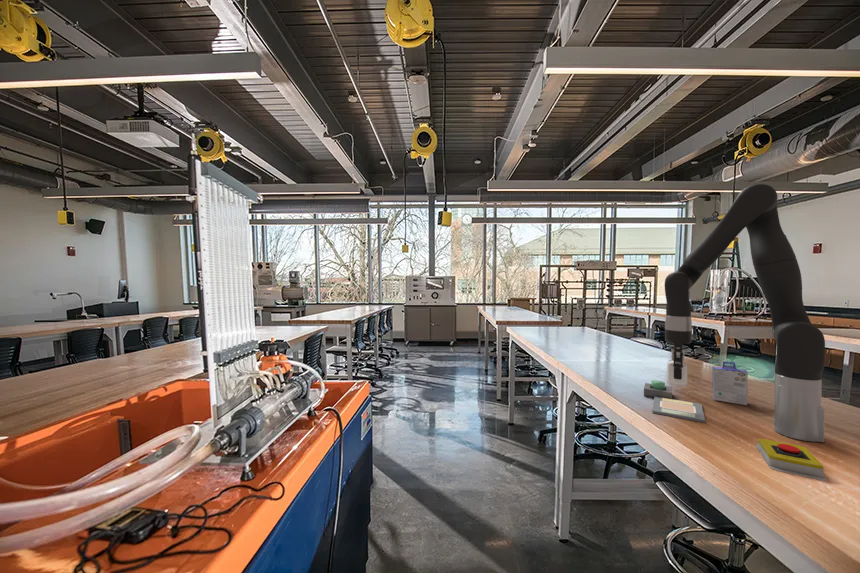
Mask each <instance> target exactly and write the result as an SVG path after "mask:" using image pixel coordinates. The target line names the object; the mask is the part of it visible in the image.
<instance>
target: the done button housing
mask: <svg viewBox="0 0 860 573" xmlns="http://www.w3.org/2000/svg"><path fill="white" fill-rule="evenodd" d="M654 396H656V397H663V398H669V399H673V387H672V386H670V385H669V386H668V385H665V390H659V389H652V388H651V383H648V382H645V383H644V386H643V397H647V398H648V397H649V398H653V399H654Z"/></svg>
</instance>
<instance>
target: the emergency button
mask: <svg viewBox="0 0 860 573" xmlns="http://www.w3.org/2000/svg"><path fill="white" fill-rule="evenodd" d="M754 447H755V448H756V447H757V448H756V449H757V451H758V452H759V454H760V453H761V454H760V455H761V457H762V458H763V460H764V462H765V463H766V465H767V466H768V467H769V468H770V469H772V471H776V472H782V473H786V474H790V475H796V476H800V477H802V478H803V477H804V478H809V479H813V480H817V481H823V482H826V481H827V478H826V477H825V475H824V464H822V463H821V461H819V459H817V458H816V456H815V455H814V454H813V453H812V452H811V451H810V450H809V449H808V448H807V447H806V446H803V445H799V444H794V443H793V444H792V443H789V442H781V441H777V440H771V439H765V438H758V440H757V443H756V444H755V446H754Z"/></svg>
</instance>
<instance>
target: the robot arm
mask: <svg viewBox="0 0 860 573" xmlns="http://www.w3.org/2000/svg"><path fill="white" fill-rule="evenodd" d="M778 199H779V198H778V193H777V191H776V188H774V187H773V186H771V185H769V184H765V183H756V184H752V185H750V186H747V187H745V188H743V189H742V190H741V191H740V192H739V193H738V194H737V196H736V198H735V199H734V200H733V201H734V202H733V203H732V204H731V206H730V208H728V211H726V213H725V214H724V216H722V218H721V219H720V221H719V222H718V223H717V224H716V225H715V227H713V229H712V230H711V231H710V232H709V233H708V234H707V235H706V236H705V237H704V238H703V239H702V240H701V241H700V242H699V243H698V244H697V245H696V246H695V247H694V248H693V250H692V251H691V252H690V253H689V254H688V255H687V256H686V258H685V259H684V261H683V264H681V266H680V267H679V268H678V269H677V270H676V271H673V272H671V273H669V274H668V275H667V276H666V277H665V280H664V294H665V300H666V306H665V314H666V315H665V319H664V341H665V342H667V343H670V344H671V343H672V344H673V346H670V353H671V361H673V362H674V365H673V367H674V379H680V380H681V379H682V368H683V366H682V365H683V362H684V363H685V354H686V347H683V345H688V344H689V345H690V344H691V343H692V341H693V339H692V337H693V336H692V334H693V328H692V326H693V324H692V304H691V301H690V289H691V288H692V287H693V286H694V285H695V284H696V283H697V281H699V279H700V278H701V277H702V275H703V274H704V273H705V272H706V270H708V269H709V268H710V267H711V266H712V265H713V264H714V263H715V262H716V261H717V260H718V259H719V258H720V257H721V255H722V254H724V252H725V251H726V250H727V249H728V247H729V246H730V245H731V244H732V242H733V241H734V240H735V239H736V237H737V236H738V235H739V234H740V233H741V232H742V231H743V230H744V229H745V228H746V230H747V234H748V238H749V248H750V255H751V260H752V266H753V268H754V272H755V275H756V278H757V281H758V284H759V286H760V289H761V292H762V295H763V296H764V298H765V301H766V303H767V305H768V309H769V313H770V319H771V324H772V332H773V338H774V341H775V342H776V361H775V364H774V407H773V408H774V413H773V414H774V420H773V424H774V427H773V430H774V431H775V432H776V433H778V434H780V435H783V436H786V437H787V438H792V439H795V440H800V441H805V442H813V443H814V442H820V443H824V442H825V408H824V407H823V406H822V392H823V391H822V389H823V387H822V382H823V381H822V379H823V372H824V370H825V357H826V354H825V353H826V340H825V336H824V334H823V331H821V330H820V328H818V326H815V325H813V323H812V321H811V320H810V318H809V315H808V313H807V311H806V307H805V306H804V305H805V304H804V301H803V280H802V279H803V278H802V273H801V269H800V265H799V262H798V259H797V256H796V254H795V252H794V249H793V247H792V245H791V243H790V241H789V238H787V236H786V234H785V233H784V230H783V229H782V225H781V222H780V217H779V212H778ZM675 362H681V364H675Z"/></svg>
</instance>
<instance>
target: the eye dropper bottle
mask: <svg viewBox="0 0 860 573" xmlns="http://www.w3.org/2000/svg"><path fill="white" fill-rule="evenodd" d="M675 364H681V362H675ZM673 365H674V362H673V361H672V360H671V361H668V362H667V366H666V369H667V370H666V372H667V373H666V380H667V381H666V384H668V385H669V386H675V387H688V372H689V371H688V364H687V363H686V362H685V361H684V362H683V365H682V366H683V368H682V379H681V380H680V379H674V367H673Z"/></svg>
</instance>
